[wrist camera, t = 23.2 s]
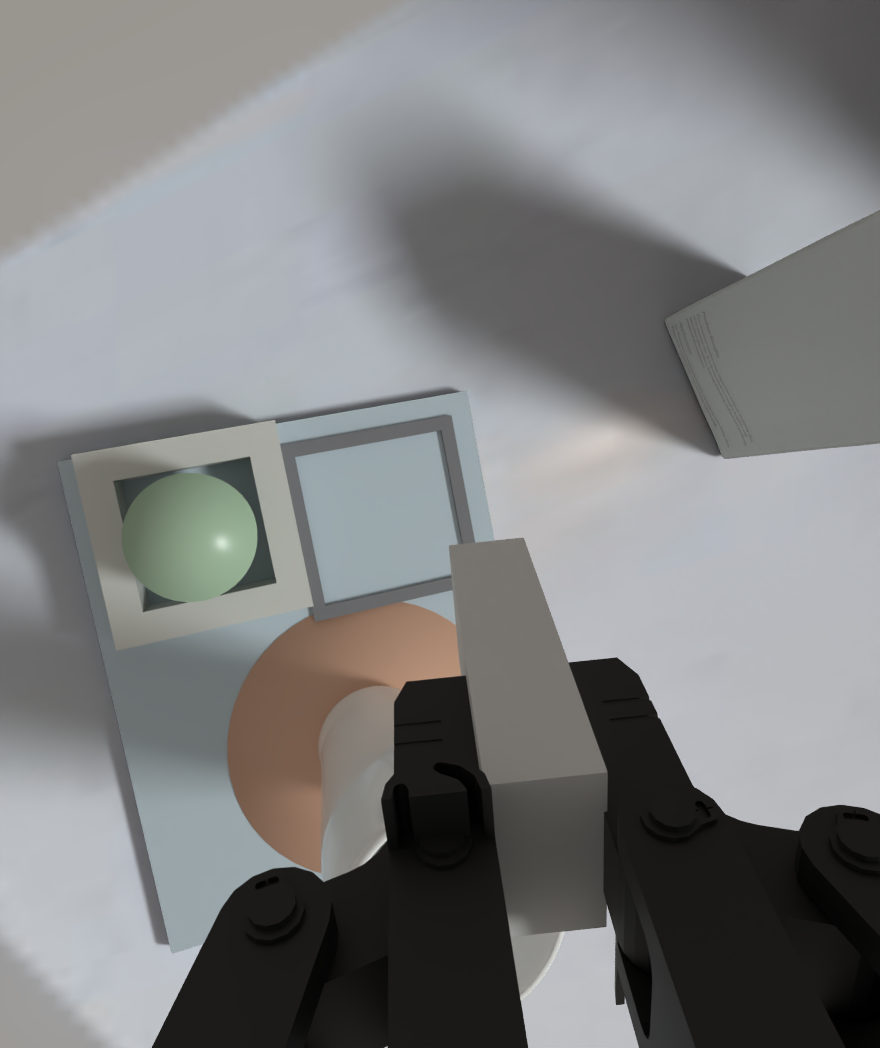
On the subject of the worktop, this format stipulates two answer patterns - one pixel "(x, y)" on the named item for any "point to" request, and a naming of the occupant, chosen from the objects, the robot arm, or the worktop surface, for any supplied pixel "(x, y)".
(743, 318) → the skincare box
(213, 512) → the button
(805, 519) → the worktop surface
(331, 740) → the drinking glass
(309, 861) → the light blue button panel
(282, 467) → the button collar
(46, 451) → the worktop surface
